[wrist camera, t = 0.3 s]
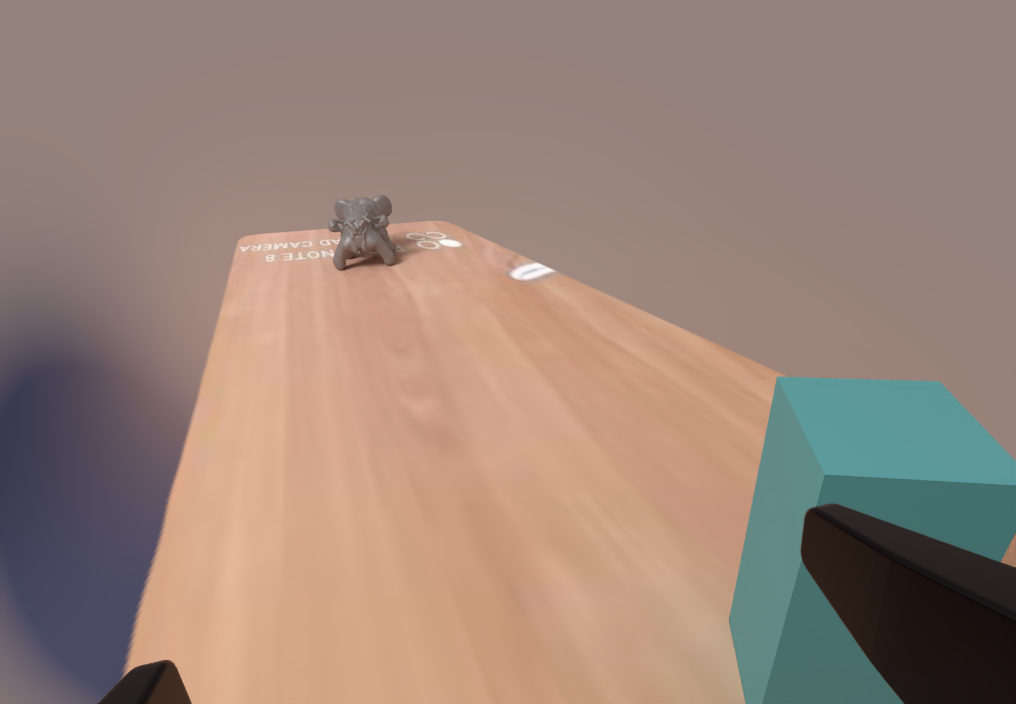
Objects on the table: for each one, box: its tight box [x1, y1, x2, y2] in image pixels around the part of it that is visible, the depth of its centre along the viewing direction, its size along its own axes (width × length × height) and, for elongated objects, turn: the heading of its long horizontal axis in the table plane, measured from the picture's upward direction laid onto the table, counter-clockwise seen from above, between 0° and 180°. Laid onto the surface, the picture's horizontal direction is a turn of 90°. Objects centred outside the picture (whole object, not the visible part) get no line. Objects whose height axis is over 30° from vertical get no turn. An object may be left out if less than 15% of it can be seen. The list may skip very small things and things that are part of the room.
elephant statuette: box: [328, 195, 396, 270], centre depth 73 cm, size 9×12×8 cm
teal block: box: [729, 377, 1016, 704], centre depth 20 cm, size 5×5×13 cm
